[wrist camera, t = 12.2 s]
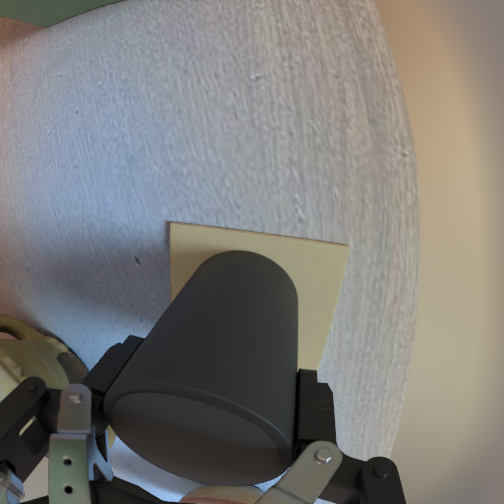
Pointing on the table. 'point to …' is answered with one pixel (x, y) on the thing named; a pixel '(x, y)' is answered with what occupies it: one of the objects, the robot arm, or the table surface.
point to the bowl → (37, 362)
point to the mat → (285, 255)
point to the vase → (223, 495)
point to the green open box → (47, 10)
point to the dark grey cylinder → (216, 376)
